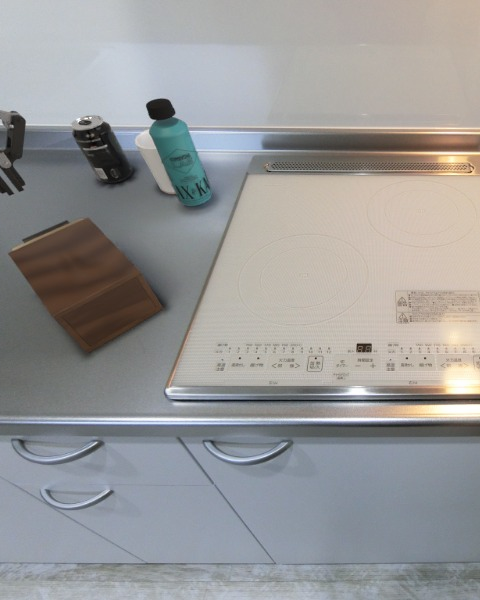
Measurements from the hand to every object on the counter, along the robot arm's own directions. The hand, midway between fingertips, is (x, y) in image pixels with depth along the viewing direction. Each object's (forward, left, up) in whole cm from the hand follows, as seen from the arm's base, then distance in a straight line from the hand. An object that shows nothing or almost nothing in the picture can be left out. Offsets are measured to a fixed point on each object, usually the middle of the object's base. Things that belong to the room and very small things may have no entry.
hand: (14, 190), depth 63 cm
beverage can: (-21, +17, -15) cm, 31 cm away
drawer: (+7, 0, -14) cm, 16 cm away
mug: (-10, +25, -15) cm, 31 cm away
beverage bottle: (0, +24, -15) cm, 28 cm away
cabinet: (+12, 0, -15) cm, 19 cm away
